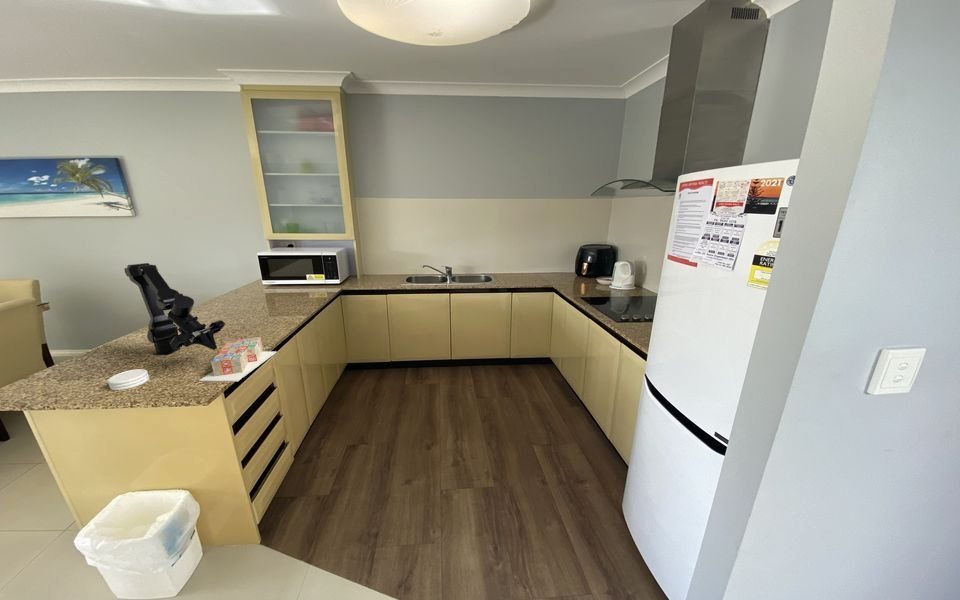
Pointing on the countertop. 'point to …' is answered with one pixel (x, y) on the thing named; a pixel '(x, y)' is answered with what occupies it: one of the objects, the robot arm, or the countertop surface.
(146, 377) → the white ridged disc
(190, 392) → the countertop surface
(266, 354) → the mat
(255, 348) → the stack of blocks
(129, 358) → the countertop surface
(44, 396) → the countertop surface
